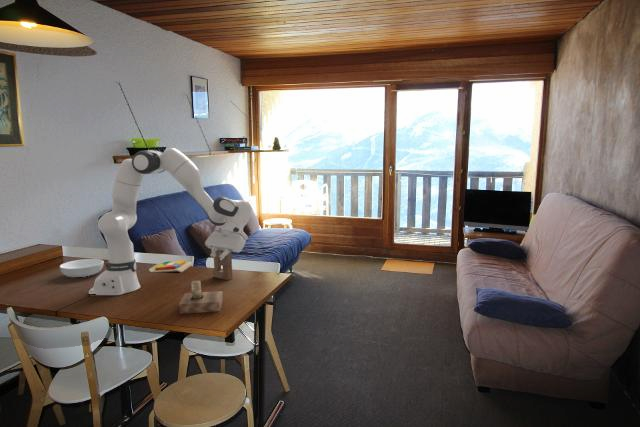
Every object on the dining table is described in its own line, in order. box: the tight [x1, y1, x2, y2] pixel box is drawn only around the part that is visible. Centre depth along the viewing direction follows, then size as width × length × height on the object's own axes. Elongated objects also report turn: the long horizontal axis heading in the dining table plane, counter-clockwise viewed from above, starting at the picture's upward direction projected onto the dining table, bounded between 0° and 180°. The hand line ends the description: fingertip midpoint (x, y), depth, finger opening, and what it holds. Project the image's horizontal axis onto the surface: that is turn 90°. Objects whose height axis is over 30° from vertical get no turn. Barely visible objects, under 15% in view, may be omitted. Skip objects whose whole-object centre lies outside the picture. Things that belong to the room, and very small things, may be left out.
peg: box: [190, 280, 202, 300], centre depth 186 cm, size 4×4×11 cm
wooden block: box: [212, 249, 234, 281], centre depth 227 cm, size 4×11×18 cm, turn 57°
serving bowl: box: [59, 258, 105, 278], centre depth 237 cm, size 21×21×7 cm
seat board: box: [178, 290, 223, 315], centre depth 187 cm, size 16×14×4 cm
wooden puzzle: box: [148, 260, 193, 273], centre depth 249 cm, size 18×19×4 cm
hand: (216, 257), depth 194 cm, fingers open, 4 cm apart
